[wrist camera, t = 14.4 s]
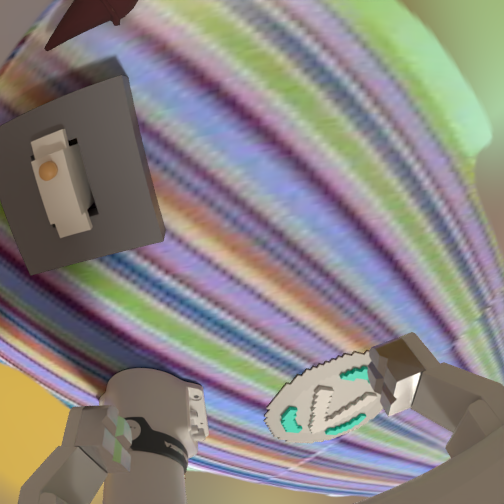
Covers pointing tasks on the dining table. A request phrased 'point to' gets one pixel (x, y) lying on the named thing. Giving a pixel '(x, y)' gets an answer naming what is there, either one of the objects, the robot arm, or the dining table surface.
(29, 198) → the grey board with hole
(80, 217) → the servo
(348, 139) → the dining table surface
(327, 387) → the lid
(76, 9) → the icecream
